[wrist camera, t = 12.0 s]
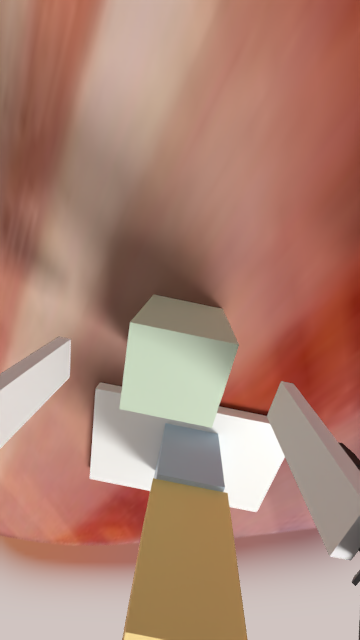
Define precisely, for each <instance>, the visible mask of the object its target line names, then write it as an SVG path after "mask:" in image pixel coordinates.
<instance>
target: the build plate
mask: <svg viewBox="0 0 360 640" xmlns="http://www.w3.org/2000/svg"><path fill="white" fill-rule="evenodd" d="M121 391H122V387H121V386H116V385H111V384H106V383H101V382H100V383H99V384H98V386H97V387H96V390H95V405H94V420H93V436H92V451H91V466H90V479H94V480H99V481H104V482H109V483H114V484H118V485H123V486H128V487H133V488H138V489H143V490H148V491H150V490H151V485H152V481H153V478H154V479H159V480H165V481H170V482H175V483H180V484H185V485H190V486H195V487H200V488H205V489H210V490H215V491H220V492H225V493H228V500H229V507H233V508H238V509H243V510H248V511H253V512H257V511H258V509H259V507H260V505H261V503H262V501H263V499H264V497H265V495H266V493H267V491H268V489H269V487H270V485H271V483H272V481H273V479H274V477H275V475H276V473H277V471H278V469H279V467H280V465H281V463H282V461H283V459H284V457H285V456H284V454H283V451H282V449H281V447H280V445H279V442H278V440H277V438H276V436H275V434H274V431H273V429H272V427H271V425H270V422H269V420H268V418H267V416H265V415H260V414H255V413H250V412H245V411H240V410H235V409H230V408H225V407H220V406H219V408H218V411H217V414H216V417H215V420H214V423H213V426H212V428H210V427H205V426H200V425H195V424H190V423H185V422H181V421H176V420H171V419H166V418H161V417H156V416H151V415H146V414H141V413H137V412H132V411H127V410H122V409H119V408H120V400H121Z"/></svg>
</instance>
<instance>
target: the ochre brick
mask: <svg viewBox="0 0 360 640" xmlns="http://www.w3.org/2000/svg"><path fill="white" fill-rule="evenodd" d="M122 640H247V633H246V625H245V618H244V610H243V603H242V596H241V589H240V581H239V574H238V566H237V559H236V552H235V544H234V537H233V529H232V522H231V514H230V507H229V500H228V493H225V492H220V491H215V490H210V489H205V488H200V487H195V486H190V485H185V484H180V483H175V482H170V481H165V480H159V479H154V478H153V481H152V485H151V490H150V495H149V500H148V505H147V509H146V514H145V519H144V524H143V529H142V535H141V540H140V546H139V551H138V556H137V562H136V567H135V573H134V578H133V584H132V589H131V595H130V600H129V606H128V611H127V616H126V622H125V627H124V633H123V638H122Z"/></svg>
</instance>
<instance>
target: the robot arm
mask: <svg viewBox="0 0 360 640" xmlns="http://www.w3.org/2000/svg"><path fill="white" fill-rule="evenodd" d="M70 355H71V339H68V338H63V337H57V338H56V339H54V340H52V341H51V342H49V343H48V344H46V345H45V346H43V347H41V348H40V349H38V350H37V351H35V352H34V353H32V354H30V355H29V356H27V357H26V358H24V359H23V360H21V361H19V362H18V363H16V364H15V365H13V366H12V367H10V368H9V369H7V370H5V371H4V372H2V373H1V374H0V448H1V447H2V446H3V445H4V444H5V443H6V442H7V441H8V440H9V439H10V438H11V437H12V436H13V435H14V434H15V433H16V432H17V431H18V430H19V429H20V428H21V427H22V426H23V425H24V424H25V423H26V422H27V421H28V420H29V419H30V418H31V417H32V416H33V415H34V414H35V412H36V411H37V410H38V409H39V408H40V407H41V406H42V405H43V404H44V403H45V402H46V401H47V400H48V399H49V398H50V397H51V396H52V395H53V394H54V393H55V392H56V391H57V390H58V389H59V388H60V387H61V386H62V385H63V384H64V383H65V382H66V381H67V380H68V379H69V378H70ZM267 418H268V420H269V422H270V425H271V427H272V429H273V431H274V434H275V436H276V438H277V440H278V442H279V445H280V447H281V449H282V451H283V454H284V456H285V458H286V460H287V462H288V465H289V467H290V469H291V471H292V474H293V476H294V478H295V480H296V483H297V485H298V487H299V489H300V491H301V494H302V496H303V498H304V500H305V503H306V505H307V507H308V509H309V511H310V514H311V516H312V518H313V520H314V523H315V525H316V527H317V529H318V531H319V534H320V536H321V538H322V540H323V543H324V545H325V547H326V549H327V552H328V554H329V556H330V557H336V558H341V559H346V560H351V559H352V558H353V557H354V556H355V554H356V553H357V552H358V551H360V460H359V459H358V458H357V457H356V455H355V454H354V453H353V452H352V451H350V450H349V449H348V448H347V447H346V446H345V445H344V444H343V443H338V442H337V440H336V439H335V438H334V436H333V435H332V434H331V432H330V431H329V430H328V428H327V427H326V426H325V425H324V423H323V422H322V421H321V419H320V418H319V417H318V415H317V414H316V413H315V411H314V410H313V409H312V407H311V406H310V405H309V404H308V402H307V401H306V400H305V398H304V397H303V396H302V394H301V393H300V392H299V390H298V389H297V388H296V386H295V385H294V384H293V383H288V382H283V381H281V383H280V385H279V388H278V390H277V393H276V395H275V397H274V400H273V402H272V405H271V407H270V410H269V412H268V415H267ZM359 581H360V570H359V572H358V573H357V574H356V575H355V576H354V578H353V580H352V583H353V584H354V585H355V586H356V585H357V584H358V583H359ZM359 640H360V622H359Z"/></svg>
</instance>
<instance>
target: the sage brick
mask: <svg viewBox="0 0 360 640" xmlns="http://www.w3.org/2000/svg"><path fill="white" fill-rule="evenodd" d="M238 346H239V344H238V342H237V339H236V337H235V335H234V333H233V331H232V328H231V326H230V324H229V322H228V320H227V317H226V315H225V313H224V311H223V309H222V308H217V307H212V306H207V305H202V304H198V303H193V302H188V301H183V300H178V299H173V298H169V297H164V296H159V295H154V294H153V296H152V297H151V298H150V299H149V300H148V302H147V303H146V304H145V305H144V306H143V307H142V309H141V310H140V311H139V312H138V313H137V314H136V316H135V317H134V318H133V319H132V320H131V322H130V326H129V334H128V342H127V350H126V359H125V367H124V375H123V383H122V391H121V400H120V408H119V409H122V410H127V411H132V412H137V413H141V414H146V415H151V416H156V417H161V418H166V419H171V420H176V421H181V422H185V423H190V424H195V425H200V426H205V427H210V428H212V426H213V423H214V420H215V417H216V414H217V411H218V408H219V404H220V401H221V398H222V395H223V392H224V389H225V386H226V383H227V380H228V377H229V374H230V371H231V368H232V365H233V361H234V358H235V355H236V352H237V349H238Z"/></svg>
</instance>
